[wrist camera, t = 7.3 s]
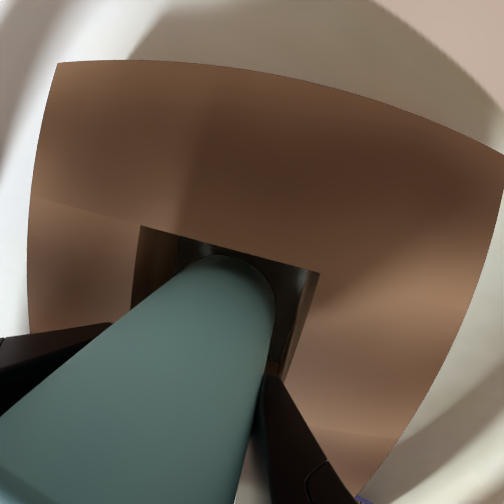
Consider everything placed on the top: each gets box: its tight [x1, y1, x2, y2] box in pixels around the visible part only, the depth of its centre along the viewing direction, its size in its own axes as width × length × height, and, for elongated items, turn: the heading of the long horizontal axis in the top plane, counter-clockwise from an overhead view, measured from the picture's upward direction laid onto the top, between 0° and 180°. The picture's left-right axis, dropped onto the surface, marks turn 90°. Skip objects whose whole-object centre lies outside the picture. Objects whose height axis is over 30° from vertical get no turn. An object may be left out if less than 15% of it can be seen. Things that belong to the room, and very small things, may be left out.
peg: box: [0, 255, 276, 504], centre depth 7 cm, size 4×4×10 cm
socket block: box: [27, 60, 504, 497], centre depth 12 cm, size 16×16×4 cm
